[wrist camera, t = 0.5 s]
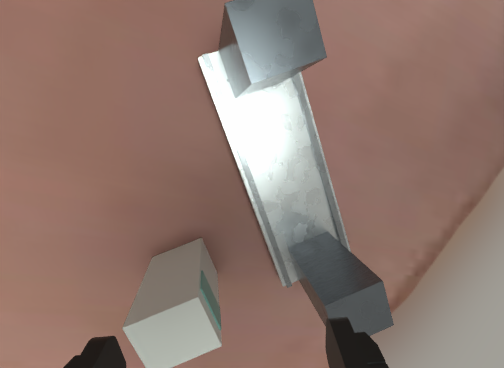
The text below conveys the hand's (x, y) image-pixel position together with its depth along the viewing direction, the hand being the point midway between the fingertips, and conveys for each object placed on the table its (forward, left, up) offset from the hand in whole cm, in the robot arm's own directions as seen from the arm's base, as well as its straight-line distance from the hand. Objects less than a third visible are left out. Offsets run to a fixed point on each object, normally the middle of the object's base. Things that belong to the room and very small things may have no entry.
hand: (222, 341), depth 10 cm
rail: (-3, +8, -21) cm, 22 cm away
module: (+8, -3, -21) cm, 23 cm away
